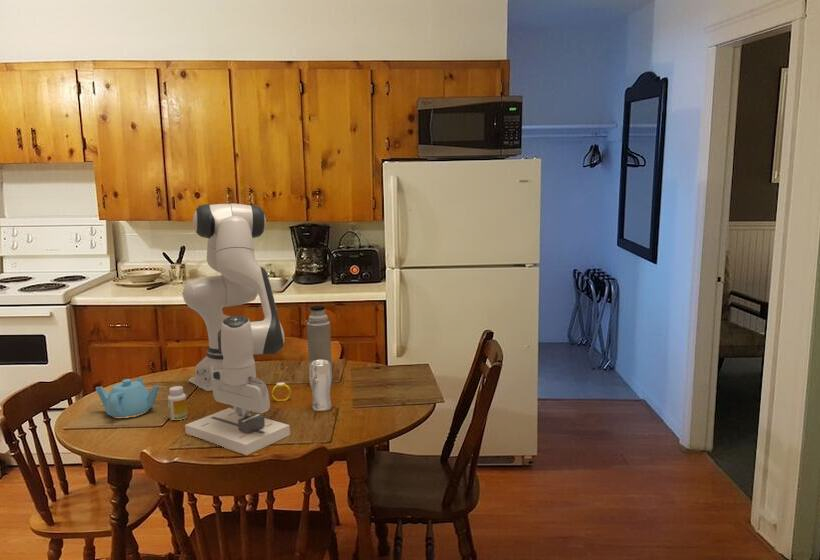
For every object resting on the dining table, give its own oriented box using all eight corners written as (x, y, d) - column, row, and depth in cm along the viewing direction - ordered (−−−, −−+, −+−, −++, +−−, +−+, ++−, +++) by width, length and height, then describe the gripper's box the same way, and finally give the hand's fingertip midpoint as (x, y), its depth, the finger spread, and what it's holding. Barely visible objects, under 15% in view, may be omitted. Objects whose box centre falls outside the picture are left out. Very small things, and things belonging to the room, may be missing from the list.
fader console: (185, 434, 192) (185, 424, 191) (229, 417, 205) (229, 407, 204) (246, 455, 177) (245, 444, 177) (290, 435, 190) (289, 424, 189)
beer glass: (329, 412, 207) (326, 366, 204) (307, 411, 208) (305, 365, 206) (335, 404, 213) (333, 359, 211) (315, 403, 215) (313, 358, 212)
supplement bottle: (191, 415, 207) (189, 385, 205) (180, 422, 202) (177, 391, 200) (177, 414, 208) (174, 384, 207) (165, 420, 203) (163, 390, 202)
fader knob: (238, 430, 185) (238, 419, 185) (255, 423, 190) (254, 413, 190) (248, 433, 183) (247, 422, 183) (264, 426, 188) (264, 415, 187)
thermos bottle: (319, 379, 239) (315, 303, 234) (337, 382, 235) (333, 305, 230) (305, 386, 232) (301, 307, 227) (323, 389, 228) (319, 309, 223)
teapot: (96, 412, 212) (92, 380, 210) (143, 400, 222) (140, 369, 220) (113, 425, 201) (109, 391, 199) (162, 412, 211) (159, 379, 209)
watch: (273, 403, 216) (270, 386, 215) (273, 400, 219) (270, 383, 218) (291, 400, 218) (289, 383, 216) (291, 398, 220) (289, 380, 219)
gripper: (273, 377, 183) (276, 425, 185) (225, 366, 194) (228, 411, 197) (256, 383, 177) (259, 432, 180) (207, 371, 189) (210, 417, 192)
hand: (242, 421), depth 188 cm, fingers closed
